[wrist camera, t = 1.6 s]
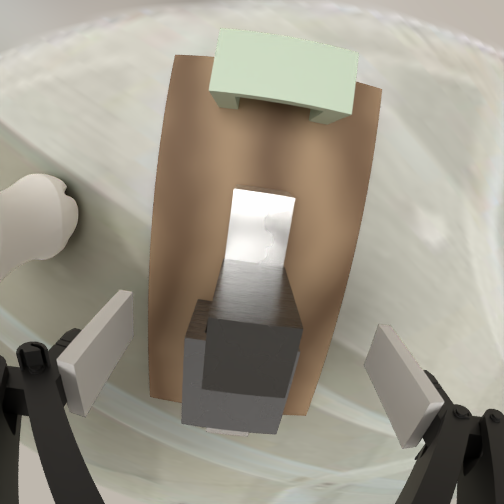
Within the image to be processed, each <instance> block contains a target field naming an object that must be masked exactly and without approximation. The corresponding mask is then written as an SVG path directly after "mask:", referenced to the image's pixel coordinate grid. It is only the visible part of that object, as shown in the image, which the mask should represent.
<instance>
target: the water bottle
mask: <svg viewBox="0 0 504 504" xmlns="http://www.w3.org/2000/svg"><path fill="white" fill-rule="evenodd" d="M66 188H67V186H66V185H65V183H64V182H63V181H62V180H60V179H58V178H56V177H54V176H51V175H47V174H30V175H27V176H25V177H23V178H21V179H20V180H18V181H17V182H16V183H14V184H13V185H12V186H10V187H8V188H6V189H4V190H2V191H0V282H1V281H2V280H3V279H4V278H5V277H6V276H7V275H8V274H9V273H11V272H12V271H13V270H14V269H16V268H17V267H19V266H20V265H22V264H24V263H26V262H28V261H30V260H34V259H38V260H46V259H49V258H52V257H53V256H55V255H56V254H58V253H59V252H60V251H61V250H63V249H64V247H65V246H66V244H67V242H68V239H69V238H70V237H71V235H72V234H73V232H74V230H75V228H76V226H77V222H78V206H77V204H76V201H75V200H74V199H73V198H72V197H70V196H67V195H65V193H64V192H65V190H66Z"/></svg>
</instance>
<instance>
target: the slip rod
mask: <svg viewBox="0 0 504 504" xmlns="http://www.w3.org/2000/svg"><path fill="white" fill-rule="evenodd" d="M294 203H295V197H294V196H292V195H291V194H290V193H289V192H286V191H280V190H273V189H267V188H260V187H253V186H246V185H239V184H236V186H235V188H234V193H233V200H232V207H231V215H230V222H229V230H228V237H227V245H226V253H225V259H224V258H223V261H222V265H221V269H220V273H219V276H218V280H217V284H216V288H215V292H214V296H213V300H212V304H211V308H210V312H209V316H208V324H207V334H206V345H205V356H204V367H203V379H202V389H204V390H211V391H218V392H226V393H234V394H243V395H253V396H263V397H276V398H285V396H286V393H287V389H288V386H289V382H290V378H291V375H292V371H293V367H294V364H295V360H296V356H297V353H298V349H299V345H300V341H301V337H302V333H303V325H302V322H301V319H300V315H299V312H298V309H297V305H296V302H295V299H294V296H293V292H292V289H291V286H290V283H289V279H288V276H287V273H286V270H285V267H283V265H284V259H285V254H286V248H287V243H288V237H289V232H290V226H291V220H292V215H293V209H294ZM206 432H212V433H220V434H228V435H237V436H248V433H249V432H240V431H230V430H222V429H214V428H206Z"/></svg>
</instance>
